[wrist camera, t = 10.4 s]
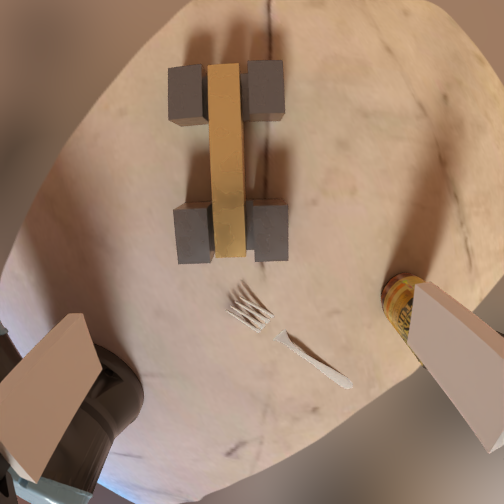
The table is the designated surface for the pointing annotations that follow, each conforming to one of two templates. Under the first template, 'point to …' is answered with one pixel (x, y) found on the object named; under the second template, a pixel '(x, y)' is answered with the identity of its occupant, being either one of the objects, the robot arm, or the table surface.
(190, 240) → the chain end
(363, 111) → the table surface
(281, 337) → the fork
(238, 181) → the link bar
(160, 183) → the table surface
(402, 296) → the sauce bottle
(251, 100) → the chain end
